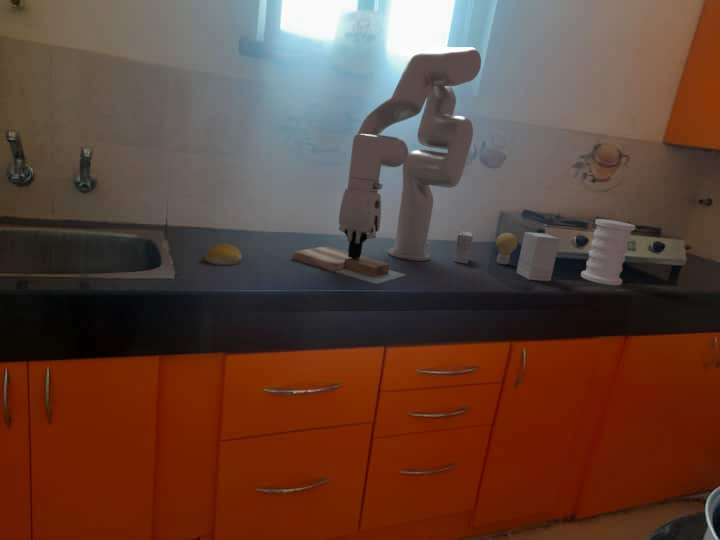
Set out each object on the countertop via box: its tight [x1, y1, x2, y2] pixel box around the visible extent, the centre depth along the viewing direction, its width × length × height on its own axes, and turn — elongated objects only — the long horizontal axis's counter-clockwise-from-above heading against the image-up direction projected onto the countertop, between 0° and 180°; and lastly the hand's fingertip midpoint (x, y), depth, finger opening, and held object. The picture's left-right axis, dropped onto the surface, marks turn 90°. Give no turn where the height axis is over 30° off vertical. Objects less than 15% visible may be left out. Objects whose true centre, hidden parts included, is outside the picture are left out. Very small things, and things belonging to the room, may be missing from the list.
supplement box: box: [515, 231, 561, 282], centre depth 144 cm, size 7×7×13 cm
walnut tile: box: [344, 255, 390, 278], centre depth 126 cm, size 7×9×2 cm
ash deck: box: [292, 245, 368, 273], centre depth 133 cm, size 14×14×2 cm
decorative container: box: [580, 218, 636, 286], centre depth 152 cm, size 12×12×18 cm
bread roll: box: [204, 243, 243, 266], centre depth 121 cm, size 8×9×4 cm
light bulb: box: [495, 232, 518, 266], centre depth 157 cm, size 6×6×10 cm
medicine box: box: [453, 230, 473, 265], centre depth 155 cm, size 8×4×9 cm, turn 168°
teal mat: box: [335, 269, 407, 286], centre depth 126 cm, size 14×12×1 cm
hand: (354, 257), depth 128 cm, fingers closed
